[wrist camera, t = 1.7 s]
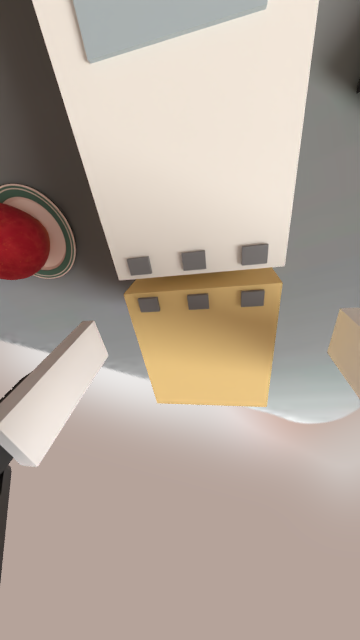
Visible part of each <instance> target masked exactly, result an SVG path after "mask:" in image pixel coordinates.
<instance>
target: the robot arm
mask: <svg viewBox="0 0 360 640" xmlns="http://www.w3.org/2000/svg"><path fill="white" fill-rule="evenodd" d="M327 353H328V354H329V356H330V357H331V359H332V360H333V362H334V363H335V364H336V366H337V367H338V369H339V370H340V372H341V373H342V374H343V376H344V377H345V379H346V380H347V381H348V383H349V384H350V386H351V387H352V389H353V390H354V391H355V393H356V394H357V396H358V397H359V399H360V309H359V308H342V309H340V311H339V314H338V318H337V321H336V325H335V328H334V331H333V335H332V338H331V342H330V345H329V348H328V352H327ZM107 357H108V353H107V351H106V348H105V346H104V344H103V341H102V339H101V336H100V334H99V331H98V329H97V327H96V324H95V322H94V321H82V322H81V323H80V324H79V325H78V326H77V327H76V328H75V329H74V330H73V331H72V332H71V333H70V334H69V335H68V336H67V337H66V338H65V339H64V340H63V341H62V342H61V343H60V344H59V345H58V346H57V347H56V348H55V349H54V350H53V351H52V352H51V353H50V354H49V355H48V356H47V357H46V358H45V359H44V360H43V361H42V362H41V363H40V364H39V365H38V366H37V368H35V369H34V370H33V371H32V372H31V373H29V374H28V375H26V376H25V377H23V378H22V379H21V380H20V381H19V382H18V383H17V384H16V385H15V386H14V387H13V389H12V390H10V391H9V392H8V393H7V394H6V395H5V397H4V398H2V399H1V400H0V580H1V570H2V560H3V550H4V540H5V530H6V520H7V510H8V500H9V490H10V480H11V467H10V466H9V465H8V464H9V463H10V461H11V460H12V459H13V458H14V459H15V460H16V461H17V462H19V464H21V465H23V466H33V467H38V465H39V464H40V462H41V461H42V459H43V457H44V456H45V454H46V453H47V451H48V450H49V448H50V446H51V445H52V443H53V442H54V440H55V439H56V437H57V435H58V434H59V432H60V431H61V429H62V427H63V426H64V425H65V423H66V421H67V420H68V418H69V417H70V414H72V412H73V410H74V409H75V407H76V406H77V404H78V402H79V401H80V399H81V398H82V396H83V395H84V393H85V392H86V390H87V388H88V387H89V385H90V384H91V382H92V380H93V379H94V377H95V376H96V374H97V373H98V371H99V370H100V368H101V367H102V365H103V363H104V362H105V360H106V359H107Z"/></svg>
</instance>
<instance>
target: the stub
mask: <svg viewBox="0 0 360 640" xmlns="http://www.w3.org/2000/svg"><path fill="white" fill-rule="evenodd" d="M281 291H282V281H281V280H280V279H279V277H278V276H277V274H276V273H275V272H274V270H273V269H272V267H269V268H258V269H246V270H235V271H223V272H212V273H200V274H189V275H177V276H166V277H154V278H143V279H136V280H135V281H134V283H133V284H132V285H131V286H130V287H129V289H128V290H127V291H126V292H125V293H124V297H125V301H126V304H127V307H128V310H129V314H130V317H131V320H132V323H133V326H134V330H135V333H136V336H137V339H138V342H139V346H140V349H141V352H142V355H143V358H144V362H145V365H146V368H147V371H148V375H149V378H150V381H151V384H152V387H153V390H154V394H155V397H156V400H157V403H168V404H196V405H224V406H254V407H267V400H268V392H269V384H270V376H271V369H272V361H273V353H274V345H275V337H276V330H277V322H278V314H279V306H280V299H281Z"/></svg>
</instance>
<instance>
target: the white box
mask: <svg viewBox="0 0 360 640" xmlns="http://www.w3.org/2000/svg"><path fill="white" fill-rule="evenodd" d="M32 2H33V5H34V8H35V11H36V15H37V18H38V21H39V24H40V28H41V31H42V34H43V37H44V40H45V44H46V47H47V50H48V53H49V56H50V60H51V63H52V66H53V69H54V72H55V76H56V79H57V82H58V85H59V89H60V92H61V95H62V98H63V101H64V105H65V108H66V111H67V114H68V117H69V121H70V124H71V127H72V130H73V134H74V137H75V140H76V143H77V146H78V150H79V153H80V156H81V159H82V162H83V166H84V169H85V172H86V175H87V179H88V182H89V185H90V188H91V191H92V195H93V198H94V201H95V204H96V207H97V211H98V214H99V217H100V220H101V224H102V227H103V230H104V233H105V236H106V240H107V243H108V246H109V249H110V252H111V256H112V259H113V262H114V265H115V269H116V272H117V275H118V278H119V280H131V279H143V278H154V277H166V276H177V275H189V274H200V273H212V272H223V271H235V270H246V269H258V268H269V267H281V266H285V260H286V252H287V244H288V236H289V229H290V221H291V213H292V205H293V197H294V190H295V182H296V174H297V166H298V159H299V151H300V143H301V135H302V127H303V120H304V112H305V104H306V96H307V89H308V81H309V73H310V65H311V57H312V50H313V42H314V34H315V26H316V19H317V11H318V3H319V0H32Z"/></svg>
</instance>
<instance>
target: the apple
mask: <svg viewBox="0 0 360 640" xmlns="http://www.w3.org/2000/svg"><path fill="white" fill-rule="evenodd" d="M75 256H76V245H75V240H74V236H73V233H72V230H71V228H70V225H69V224H68V222H67V220H66V218H65V217H64V215H63V214H62V212H61V211H60V210H59V209H58V208H57V206H56V205H55V204H54V203H53V202H52V201H51V200H49V199H48V198H47V197H46V196H44V195H43V194H42V193H40V192H38V191H37V190H35V189H33V188H30V187H28V186H24V185H20V184H7V185H3V186H1V187H0V279H6V280H17V279H23V278H27V277H30V276H32V275H34V276H37V277H41V278H46V279H53V278H58V277H61V276H63V275H64V274H66V273H67V272H68V271H69V270H70V269H71V267H72V266H73V263H74V261H75Z"/></svg>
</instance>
